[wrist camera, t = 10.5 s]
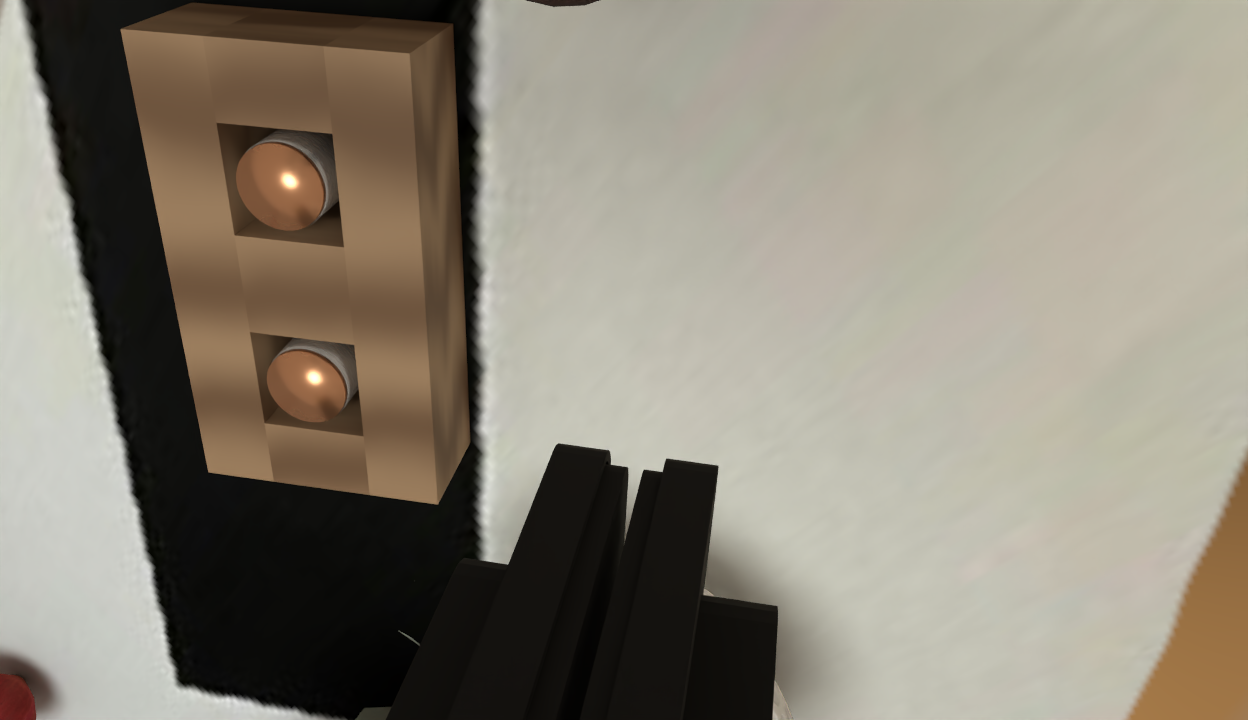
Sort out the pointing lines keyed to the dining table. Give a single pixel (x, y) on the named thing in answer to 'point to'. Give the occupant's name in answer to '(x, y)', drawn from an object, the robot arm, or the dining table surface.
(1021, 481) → the dining table surface
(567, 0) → the deodorant
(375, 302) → the socket block
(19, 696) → the onion
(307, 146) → the plunger
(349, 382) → the plunger
